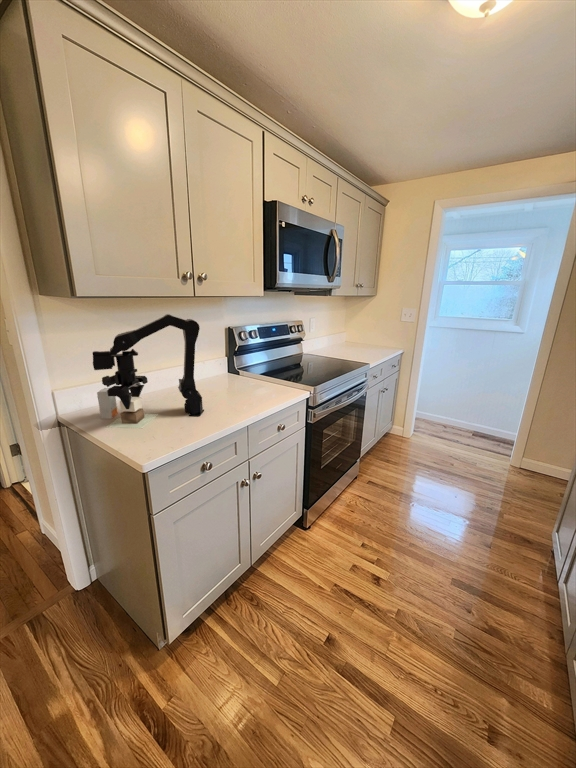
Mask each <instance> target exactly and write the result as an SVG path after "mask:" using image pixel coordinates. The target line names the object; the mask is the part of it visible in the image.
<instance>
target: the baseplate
mask: <svg viewBox="0 0 576 768" xmlns="http://www.w3.org/2000/svg"><path fill="white" fill-rule="evenodd" d="M157 416H159V413H144V419H142V420H141V421H140V422H139V423H137V424H129V423H122V420H121V416H119V417H118V418H117V419H115V420H114V421H113V422H111V423H110V424H108V425H107V426H106V428H111V429H113V428H116V429H143V428H144V427H146V426H147V425H148V424H149V423H151V422H152V421H153V420H154V419H156V417H157Z"/></svg>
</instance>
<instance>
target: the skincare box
mask: <svg viewBox="0 0 576 768" xmlns="http://www.w3.org/2000/svg"><path fill="white" fill-rule="evenodd" d="M109 388H110V387H103V388H102V389H100V390H99V391H97V392H96V395H97V400H98V408H99V415H100V419H101V420H103V419H106V420H107V419H113V418H114V417H116V416H117V414H118V413H119V411H118V406H117V399H116V397H117V396H108V394H107V390H108V389H109Z"/></svg>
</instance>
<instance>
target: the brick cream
mask: <svg viewBox="0 0 576 768" xmlns="http://www.w3.org/2000/svg"><path fill="white" fill-rule="evenodd" d="M119 407H120V411H121V412H124V411H130V412H135V411H137V410H138V409H139V408H142V407H143V402H142V397H140V396H139V397H131V403H130V408H129V409H126V408H125V406H124V405H123V403H122V401H121V400H119Z"/></svg>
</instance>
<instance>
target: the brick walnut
mask: <svg viewBox="0 0 576 768" xmlns="http://www.w3.org/2000/svg"><path fill="white" fill-rule="evenodd" d="M144 414H145V411H144V408H142V407H141V408H139V409H138V410H137V411H135V412H130V411H121V413H120V417H121V420H122V423H129V424H137V423H139V422H140V421H141V420H142V419H144Z"/></svg>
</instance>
